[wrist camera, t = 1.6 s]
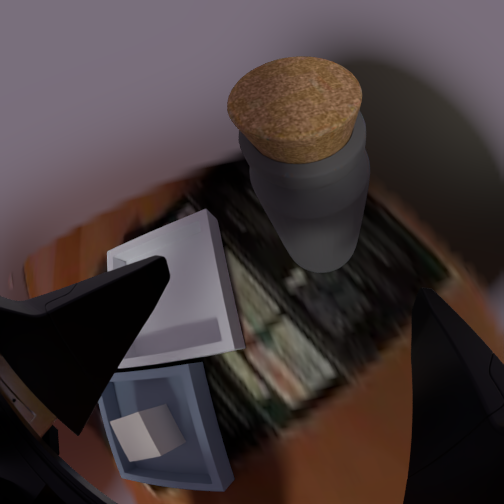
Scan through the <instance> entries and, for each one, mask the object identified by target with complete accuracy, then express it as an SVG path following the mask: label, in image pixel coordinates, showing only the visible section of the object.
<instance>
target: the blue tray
mask: <svg viewBox="0 0 504 504" xmlns="http://www.w3.org/2000/svg"><path fill="white" fill-rule="evenodd" d="M98 402H99V407H100V411H101V415H102V419H103V423H104V426H105V430H106V433H107V437H108V440H109V443H110V446H111V449H112V452H113V455H114V458H115V461H116V464H117V467H118V469H119V472H120V475H121V477H122V478H124V479H128V480H133V481H137V482H142V483H147V484H153V485H159V486H165V487H172V488H180V489H190V490H202V491H225V490H226V489H227V488H228V487H229V485H230V484H231V483H232V482H233V481H234V480H235V478H234V475H233V472H232V469H231V466H230V463H229V460H228V456H227V453H226V450H225V446H224V443H223V440H222V436H221V433H220V429H219V426H218V422H217V418H216V415H215V411H214V407H213V403H212V399H211V395H210V391H209V387H208V383H207V379H206V374H205V370H204V366H203V362H198V363H191V364H184V365H178V366H171V367H164V368H157V369H149V370H141V371H132V372H121V373H114V375H113V376H112V378H111V380H110V382H109V383H108V385H107V387H106V388H105V390H104V392H103V394H102V396H101V397H100V399H99V401H98ZM164 404H167V406H168V408H169V410H170V412H171V414H172V416H173V418H174V420H175V422H176V424H177V426H178V428H179V430H180V431H181V433H182V435H183V437H184V439H185V440H186V442H185V443H183V444H182V445H180V446H178V447H176V448H175V449H173V450H171V451H169V452H167V453H166V454H164V455H162V456H158V457H154V458H149V459H143V460H138V461H132V462H130V461H129V460H128V458H127V456H126V454H125V452H124V450H123V448H122V446H121V444H120V442H119V440H118V438H117V436H116V434H115V432H114V430H113V428H112V426H111V424H110V421H113V420H116V419H119V418H121V417H124V416H127V415H130V414H133V413H136V412H138V411H143V410H147V409H150V408H154V407H157V406H160V405H164Z"/></svg>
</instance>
